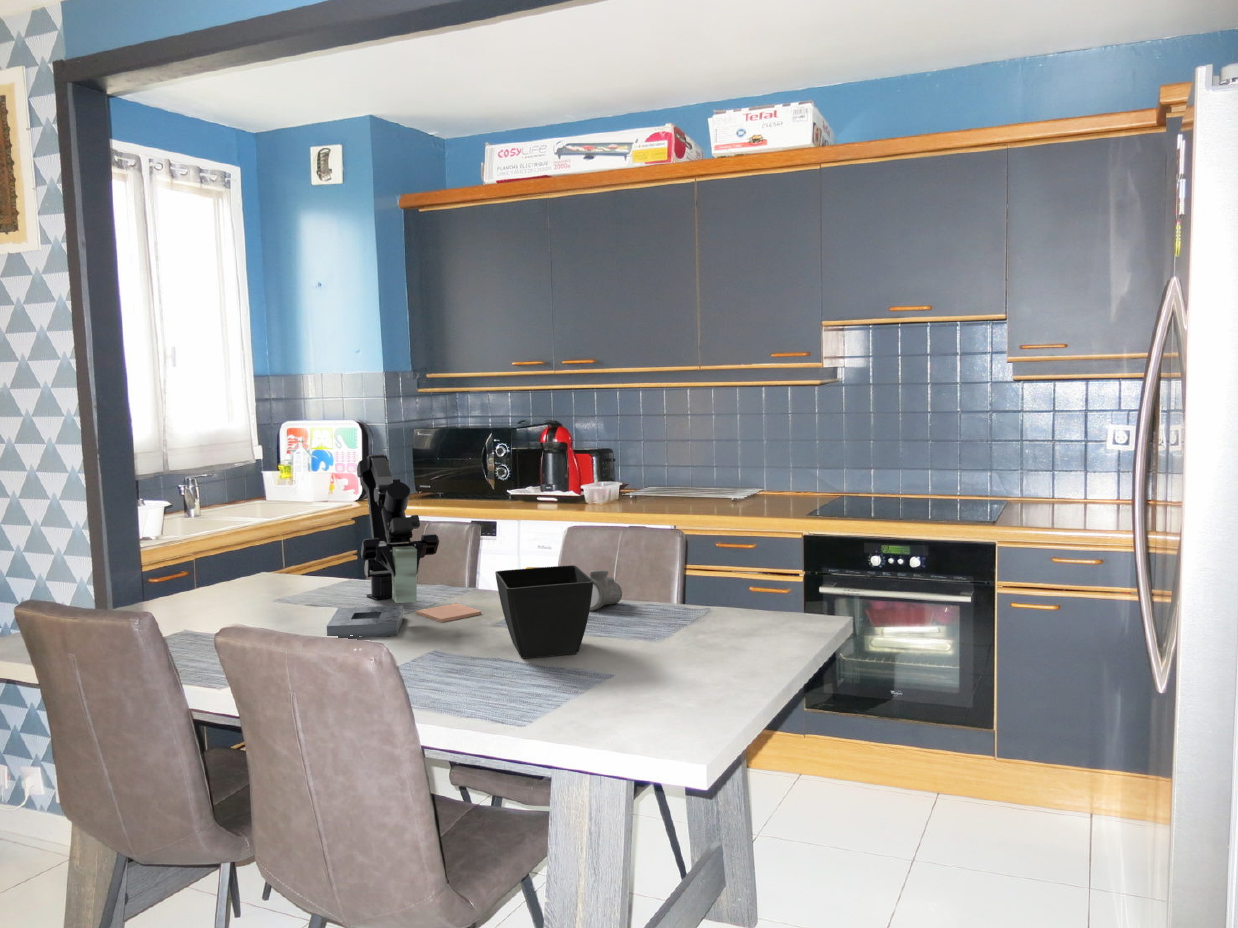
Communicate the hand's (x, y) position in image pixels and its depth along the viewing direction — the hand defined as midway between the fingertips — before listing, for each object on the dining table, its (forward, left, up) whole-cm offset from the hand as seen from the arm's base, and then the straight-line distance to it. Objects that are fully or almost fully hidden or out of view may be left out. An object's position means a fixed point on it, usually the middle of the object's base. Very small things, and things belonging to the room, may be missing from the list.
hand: (405, 574), depth 239 cm
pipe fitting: (+19, +47, -13) cm, 53 cm away
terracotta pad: (-2, +13, -12) cm, 18 cm away
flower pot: (+41, +11, -13) cm, 44 cm away
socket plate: (-4, -9, -12) cm, 16 cm away
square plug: (-1, 0, -7) cm, 7 cm away
